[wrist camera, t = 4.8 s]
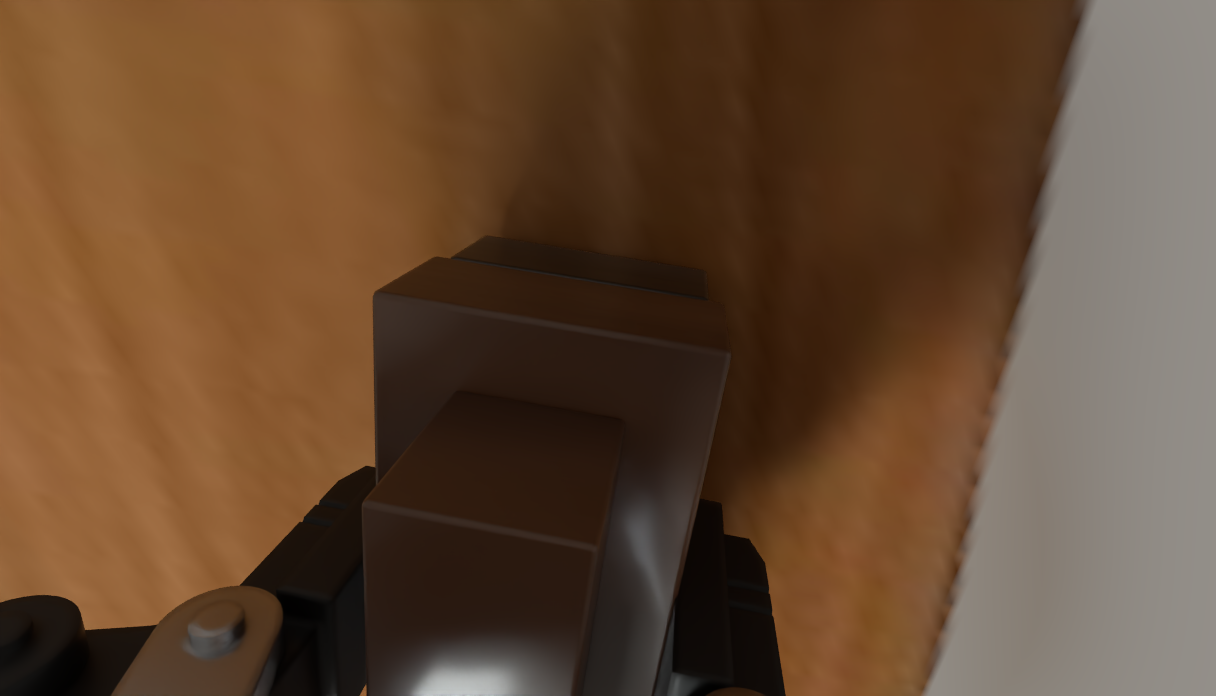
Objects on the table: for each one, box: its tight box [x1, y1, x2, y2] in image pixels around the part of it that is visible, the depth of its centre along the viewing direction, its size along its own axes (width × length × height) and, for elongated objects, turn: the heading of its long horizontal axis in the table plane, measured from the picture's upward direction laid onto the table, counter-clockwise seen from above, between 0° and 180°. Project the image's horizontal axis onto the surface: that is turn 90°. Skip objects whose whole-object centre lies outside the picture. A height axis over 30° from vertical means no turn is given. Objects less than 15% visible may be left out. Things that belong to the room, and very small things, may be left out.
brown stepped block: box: [362, 236, 732, 696], centre depth 9 cm, size 9×4×6 cm, turn 173°
